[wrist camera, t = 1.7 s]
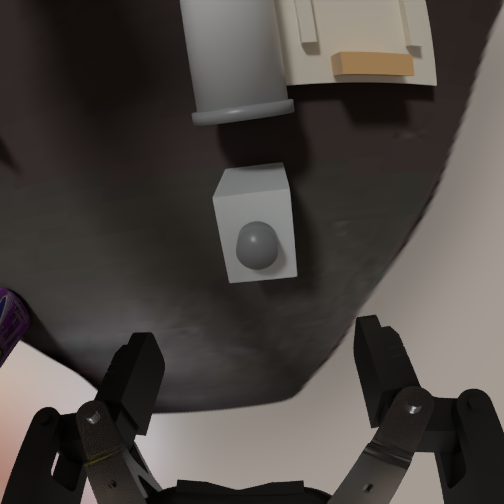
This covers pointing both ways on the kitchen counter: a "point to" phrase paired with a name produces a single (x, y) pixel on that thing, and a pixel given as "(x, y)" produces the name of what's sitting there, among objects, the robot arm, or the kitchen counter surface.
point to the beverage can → (11, 322)
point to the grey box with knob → (256, 223)
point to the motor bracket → (298, 50)
